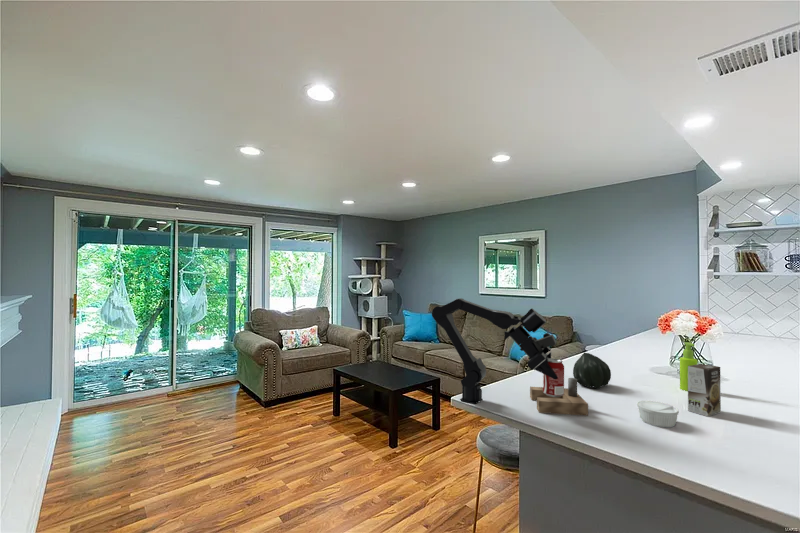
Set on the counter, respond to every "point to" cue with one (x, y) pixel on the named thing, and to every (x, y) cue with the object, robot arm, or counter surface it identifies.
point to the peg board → (560, 400)
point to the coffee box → (704, 389)
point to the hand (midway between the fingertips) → (557, 376)
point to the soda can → (554, 385)
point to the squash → (591, 371)
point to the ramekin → (657, 413)
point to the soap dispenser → (686, 365)
